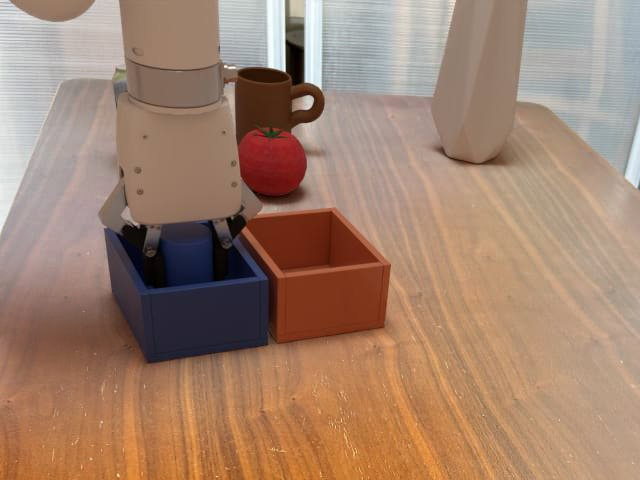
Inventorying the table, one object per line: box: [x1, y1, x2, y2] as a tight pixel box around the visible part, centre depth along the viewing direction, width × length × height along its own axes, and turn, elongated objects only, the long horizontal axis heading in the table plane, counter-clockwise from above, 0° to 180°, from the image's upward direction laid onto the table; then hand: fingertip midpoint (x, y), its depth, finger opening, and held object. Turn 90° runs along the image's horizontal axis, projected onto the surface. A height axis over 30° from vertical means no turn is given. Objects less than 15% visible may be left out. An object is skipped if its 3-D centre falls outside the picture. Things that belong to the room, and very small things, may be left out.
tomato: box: [237, 125, 308, 197], centre depth 109 cm, size 9×9×8 cm
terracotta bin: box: [236, 206, 392, 344], centre depth 89 cm, size 12×14×7 cm
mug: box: [234, 66, 326, 147], centre depth 119 cm, size 12×8×9 cm, turn 87°
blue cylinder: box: [158, 222, 214, 288], centre depth 83 cm, size 5×5×8 cm
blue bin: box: [103, 221, 269, 364], centre depth 84 cm, size 12×14×7 cm
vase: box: [430, 0, 529, 165], centre depth 118 cm, size 12×12×33 cm
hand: (187, 284), depth 84 cm, fingers closed on blue cylinder, 5 cm apart
